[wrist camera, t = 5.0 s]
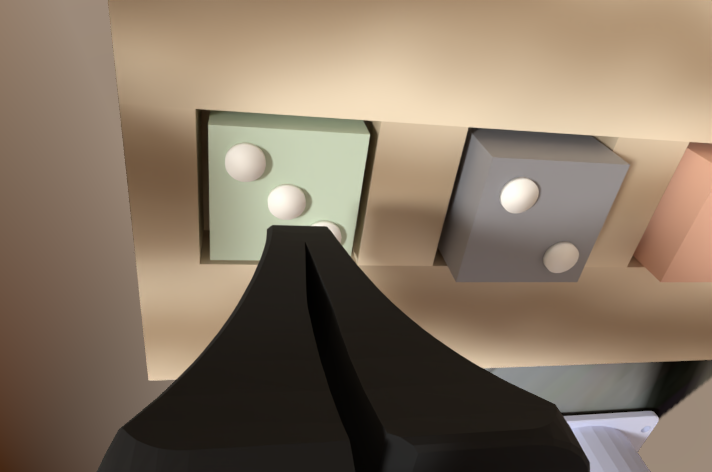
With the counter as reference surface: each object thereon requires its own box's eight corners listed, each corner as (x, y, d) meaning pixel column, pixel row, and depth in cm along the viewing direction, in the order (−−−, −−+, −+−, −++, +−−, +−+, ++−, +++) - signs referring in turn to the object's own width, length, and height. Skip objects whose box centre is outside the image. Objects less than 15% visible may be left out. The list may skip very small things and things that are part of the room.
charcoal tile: (547, 245, 18) (580, 286, 16) (436, 243, 17) (458, 286, 15) (590, 135, 16) (634, 168, 14) (466, 126, 15) (495, 160, 13)
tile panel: (674, 320, 24) (712, 359, 22) (158, 329, 19) (148, 380, 17) (879, -20, 17) (964, -5, 15) (117, -140, 12) (92, -142, 10)
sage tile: (340, 224, 17) (351, 265, 16) (213, 222, 17) (209, 264, 15) (356, 107, 15) (371, 137, 14) (212, 96, 14) (207, 127, 13)
